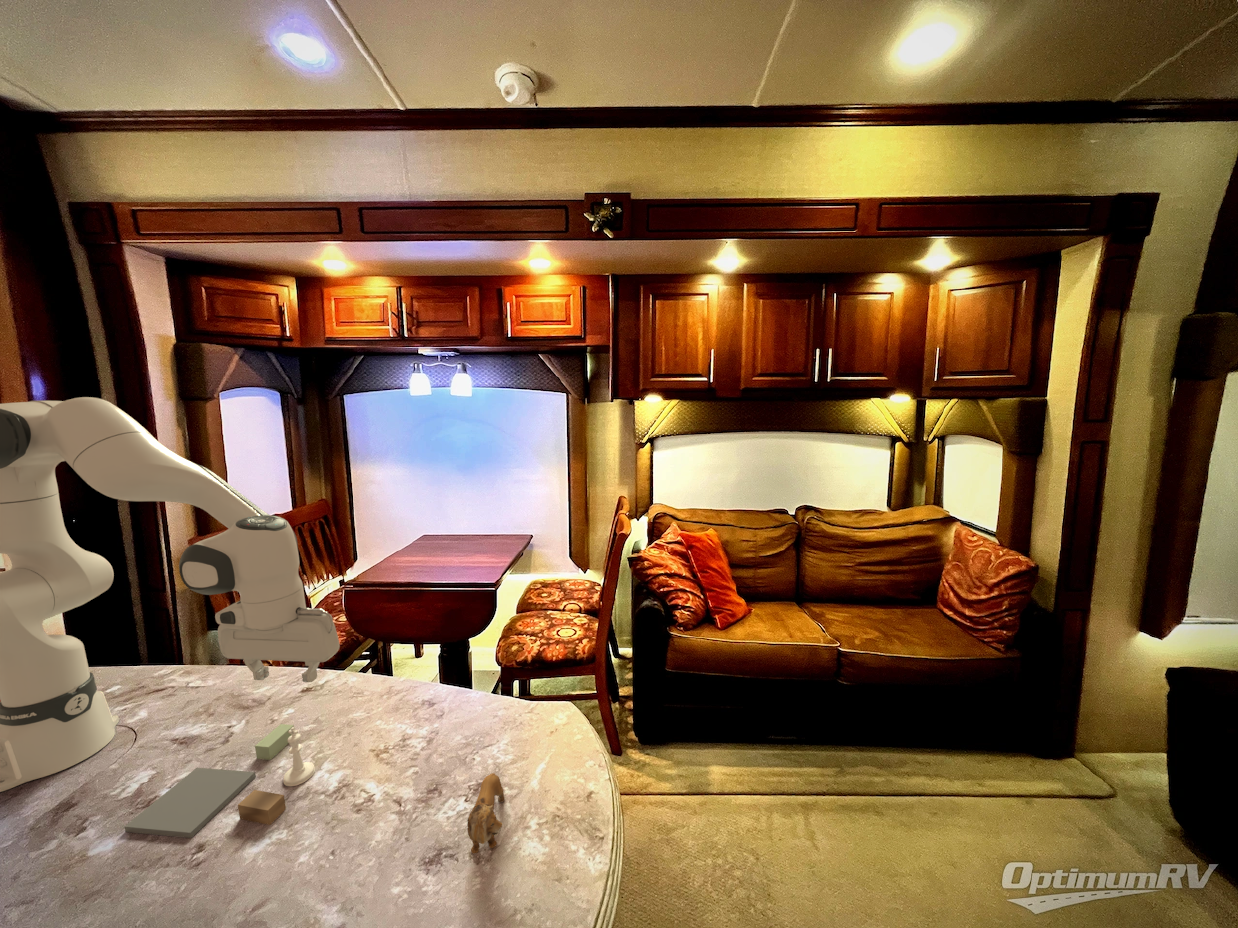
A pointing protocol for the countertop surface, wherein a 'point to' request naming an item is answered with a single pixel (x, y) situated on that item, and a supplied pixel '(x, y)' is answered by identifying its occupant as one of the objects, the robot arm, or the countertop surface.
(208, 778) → the slate tile
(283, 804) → the walnut brick
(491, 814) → the lion figurine
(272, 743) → the sage brick
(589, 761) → the countertop surface
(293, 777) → the chess piece
